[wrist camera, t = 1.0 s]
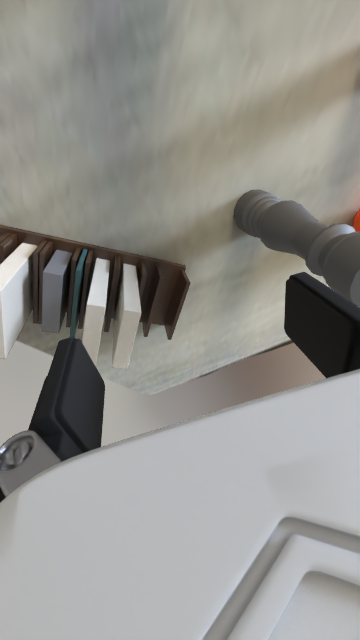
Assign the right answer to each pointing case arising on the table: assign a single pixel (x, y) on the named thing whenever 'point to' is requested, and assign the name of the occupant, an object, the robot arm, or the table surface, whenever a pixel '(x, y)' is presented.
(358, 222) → the clementine
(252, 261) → the table surface
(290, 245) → the candle holder
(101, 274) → the white book
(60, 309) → the grey book
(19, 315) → the white book
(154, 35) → the table surface
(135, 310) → the white book
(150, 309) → the book rack
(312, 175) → the table surface
